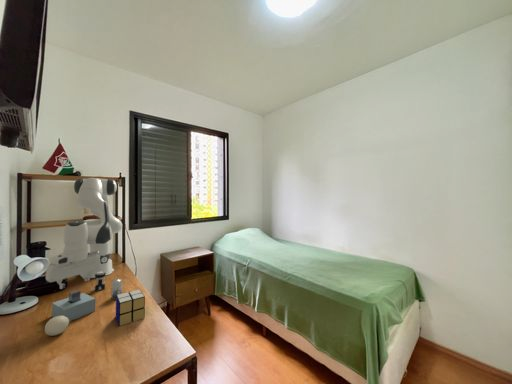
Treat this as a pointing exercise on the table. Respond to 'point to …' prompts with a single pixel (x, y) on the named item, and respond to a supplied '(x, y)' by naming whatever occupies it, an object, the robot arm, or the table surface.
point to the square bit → (74, 296)
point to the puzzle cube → (130, 307)
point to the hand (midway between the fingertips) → (75, 284)
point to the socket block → (74, 307)
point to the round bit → (116, 288)
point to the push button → (99, 281)
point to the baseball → (56, 325)
